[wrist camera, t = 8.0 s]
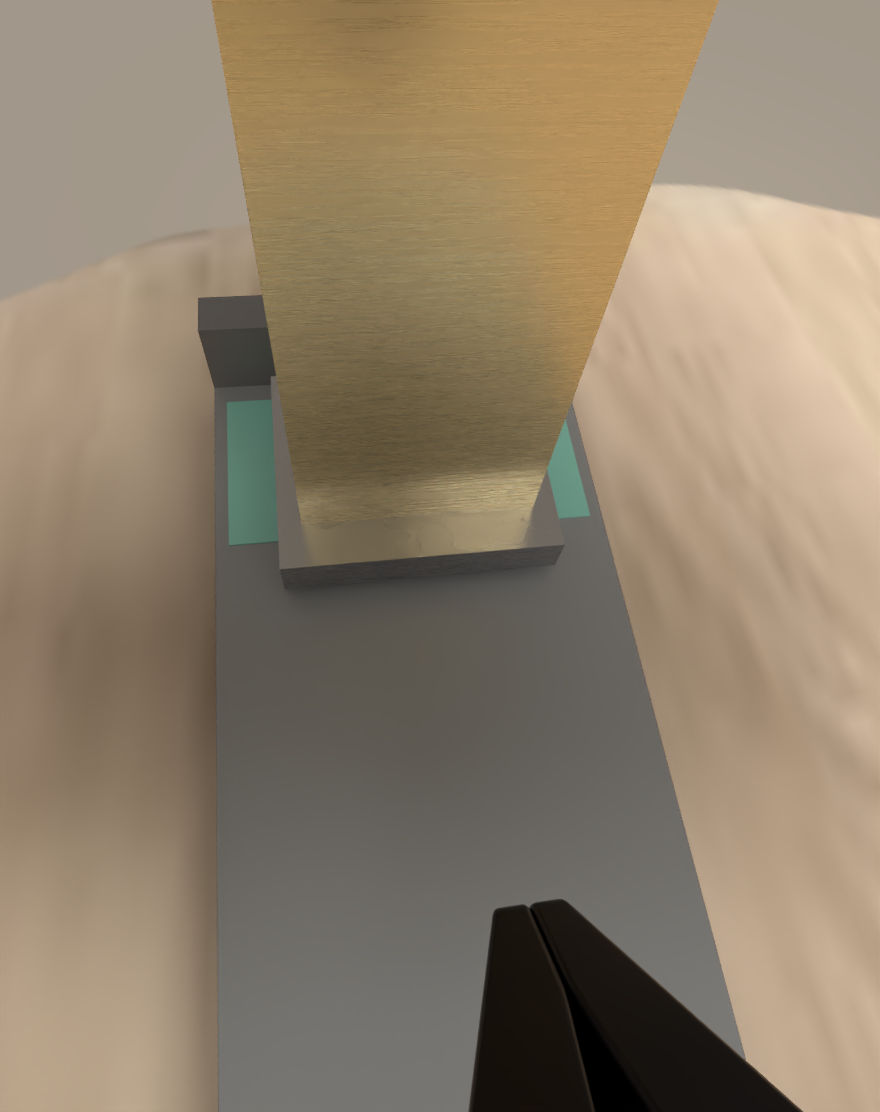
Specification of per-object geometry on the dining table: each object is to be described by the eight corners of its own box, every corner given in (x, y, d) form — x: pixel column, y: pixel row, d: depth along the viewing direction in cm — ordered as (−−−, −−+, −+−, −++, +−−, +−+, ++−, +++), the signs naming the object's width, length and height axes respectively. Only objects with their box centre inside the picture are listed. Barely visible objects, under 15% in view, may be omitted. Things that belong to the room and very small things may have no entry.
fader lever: (555, 565, 17) (855, -60, 6) (285, 589, 16) (115, -77, 6) (515, 389, 19) (691, -295, 9) (275, 403, 18) (141, -330, 8)
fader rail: (770, 1285, 13) (894, 1391, 10) (237, 1405, 12) (189, 1569, 9) (544, 376, 22) (572, 282, 19) (224, 394, 21) (198, 297, 18)
